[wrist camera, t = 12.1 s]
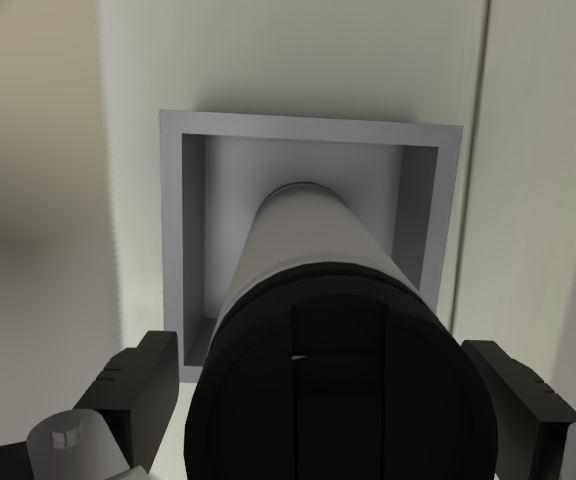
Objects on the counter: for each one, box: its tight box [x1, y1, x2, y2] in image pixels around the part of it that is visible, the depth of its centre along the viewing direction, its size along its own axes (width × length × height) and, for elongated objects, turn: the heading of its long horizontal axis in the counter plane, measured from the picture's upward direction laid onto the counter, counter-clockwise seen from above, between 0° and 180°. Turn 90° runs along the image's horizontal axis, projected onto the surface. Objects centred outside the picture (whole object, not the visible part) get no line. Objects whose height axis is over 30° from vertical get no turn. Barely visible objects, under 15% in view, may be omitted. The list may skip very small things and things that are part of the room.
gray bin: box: [159, 109, 463, 383], centre depth 25 cm, size 14×14×7 cm
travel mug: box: [183, 182, 499, 480], centre depth 17 cm, size 6×7×20 cm
